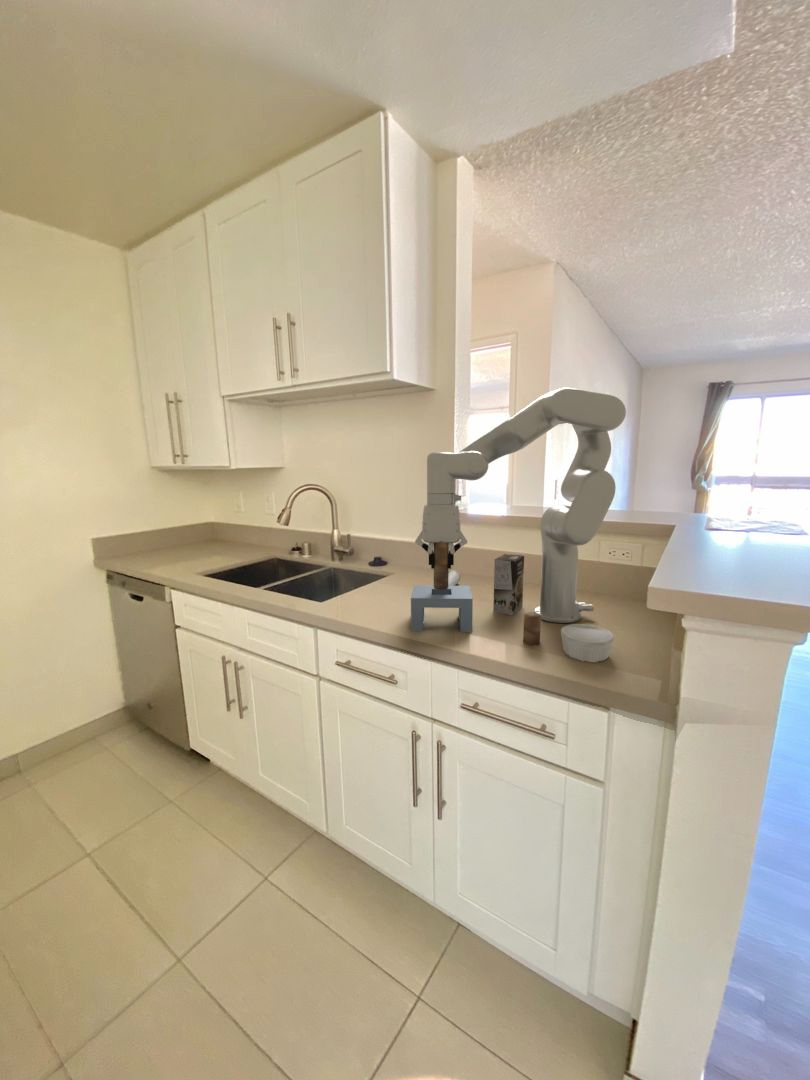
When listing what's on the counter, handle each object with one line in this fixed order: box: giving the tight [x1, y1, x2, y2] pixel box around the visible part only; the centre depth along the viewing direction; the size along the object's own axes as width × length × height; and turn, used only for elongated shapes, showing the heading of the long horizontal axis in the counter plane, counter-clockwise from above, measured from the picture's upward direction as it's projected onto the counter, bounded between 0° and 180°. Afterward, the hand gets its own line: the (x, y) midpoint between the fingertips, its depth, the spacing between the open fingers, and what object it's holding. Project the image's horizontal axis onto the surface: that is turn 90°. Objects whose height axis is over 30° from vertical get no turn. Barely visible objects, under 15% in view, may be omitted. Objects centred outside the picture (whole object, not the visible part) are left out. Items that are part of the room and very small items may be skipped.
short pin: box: [522, 611, 542, 647], centre depth 106 cm, size 4×4×7 cm
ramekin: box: [560, 623, 615, 662], centre depth 99 cm, size 11×11×5 cm
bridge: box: [410, 584, 474, 633], centre depth 119 cm, size 16×12×9 cm
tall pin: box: [433, 541, 450, 590], centre depth 117 cm, size 4×4×14 cm
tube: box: [448, 569, 461, 586], centre depth 147 cm, size 5×5×25 cm
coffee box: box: [492, 553, 525, 616], centre depth 129 cm, size 9×6×16 cm
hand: (441, 567), depth 117 cm, fingers closed on tall pin, 4 cm apart
